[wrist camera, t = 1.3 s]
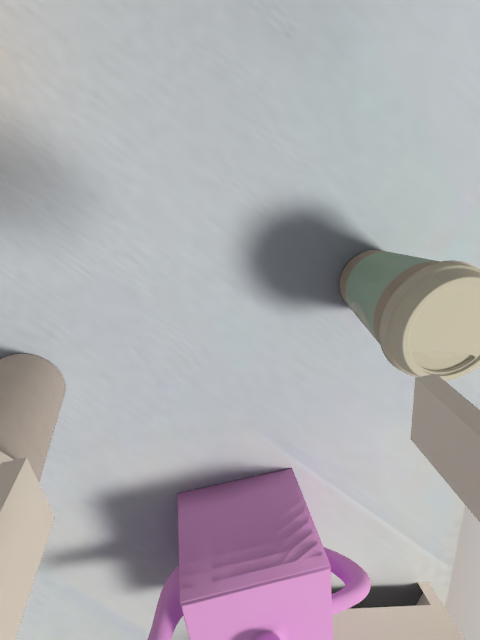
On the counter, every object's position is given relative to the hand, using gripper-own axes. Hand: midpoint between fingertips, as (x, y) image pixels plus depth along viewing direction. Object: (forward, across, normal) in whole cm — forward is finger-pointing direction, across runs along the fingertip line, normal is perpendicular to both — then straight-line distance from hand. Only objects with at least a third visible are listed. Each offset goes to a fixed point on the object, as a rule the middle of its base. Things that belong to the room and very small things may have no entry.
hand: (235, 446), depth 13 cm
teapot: (+22, -1, -32) cm, 38 cm away
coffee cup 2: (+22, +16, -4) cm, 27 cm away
